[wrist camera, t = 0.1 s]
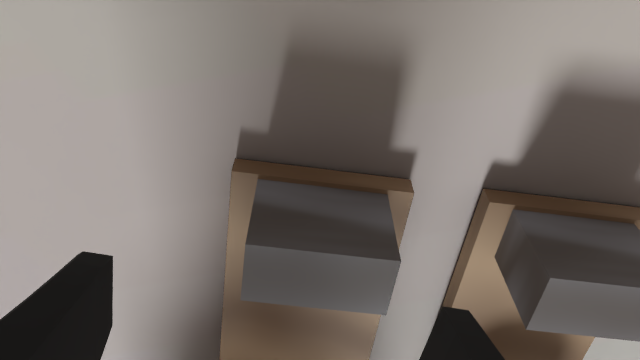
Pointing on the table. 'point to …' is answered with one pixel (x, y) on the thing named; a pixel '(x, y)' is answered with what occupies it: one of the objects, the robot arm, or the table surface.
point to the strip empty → (309, 261)
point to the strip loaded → (549, 274)
